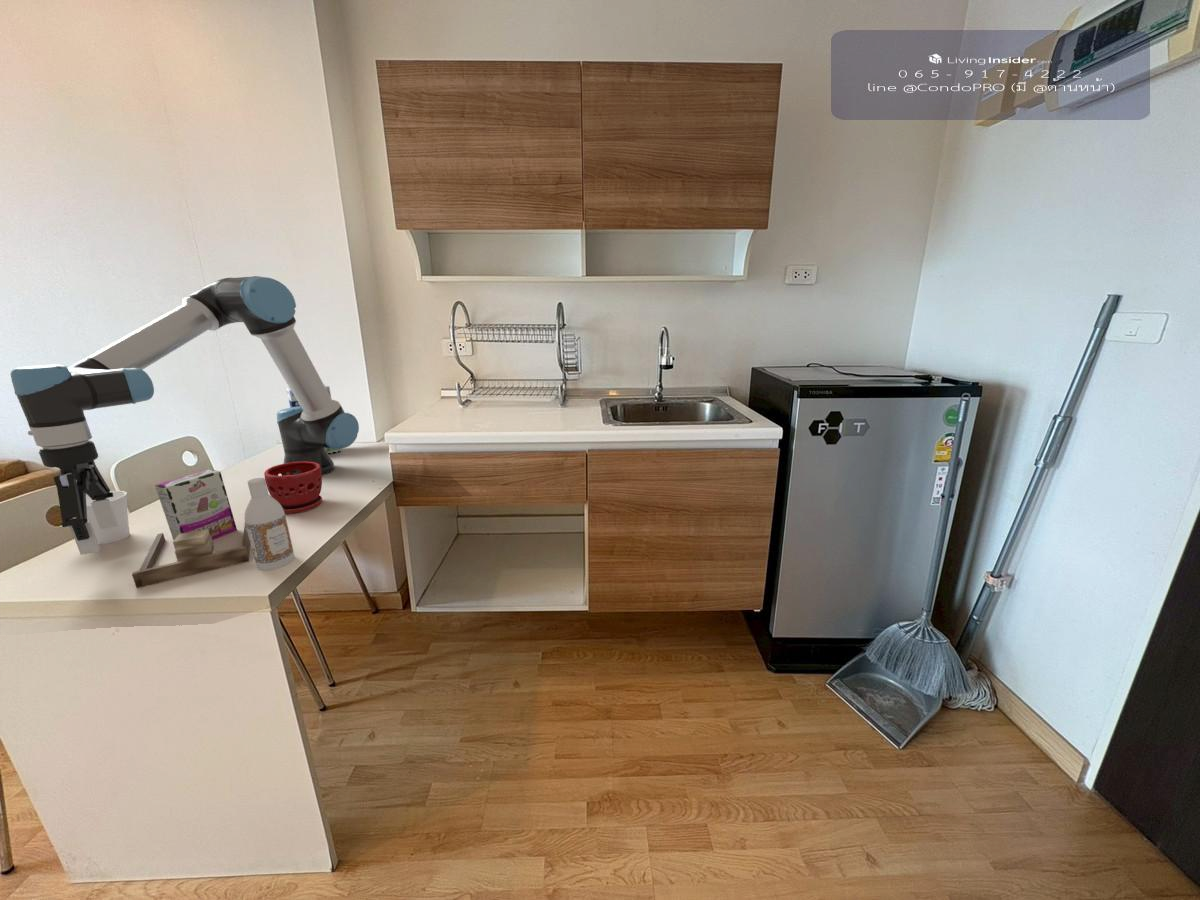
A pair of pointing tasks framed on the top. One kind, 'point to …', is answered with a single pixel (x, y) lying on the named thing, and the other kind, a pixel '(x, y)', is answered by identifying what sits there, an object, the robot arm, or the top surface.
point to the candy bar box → (197, 504)
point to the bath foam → (267, 528)
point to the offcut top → (191, 539)
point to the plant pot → (295, 486)
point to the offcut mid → (195, 551)
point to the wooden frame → (187, 563)
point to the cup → (120, 514)
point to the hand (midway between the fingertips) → (100, 539)
